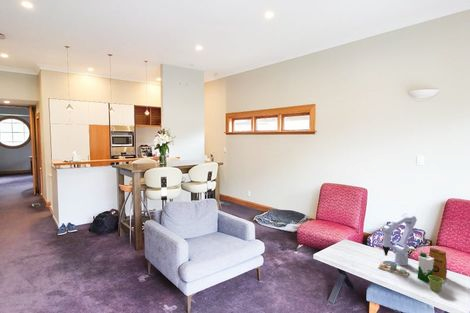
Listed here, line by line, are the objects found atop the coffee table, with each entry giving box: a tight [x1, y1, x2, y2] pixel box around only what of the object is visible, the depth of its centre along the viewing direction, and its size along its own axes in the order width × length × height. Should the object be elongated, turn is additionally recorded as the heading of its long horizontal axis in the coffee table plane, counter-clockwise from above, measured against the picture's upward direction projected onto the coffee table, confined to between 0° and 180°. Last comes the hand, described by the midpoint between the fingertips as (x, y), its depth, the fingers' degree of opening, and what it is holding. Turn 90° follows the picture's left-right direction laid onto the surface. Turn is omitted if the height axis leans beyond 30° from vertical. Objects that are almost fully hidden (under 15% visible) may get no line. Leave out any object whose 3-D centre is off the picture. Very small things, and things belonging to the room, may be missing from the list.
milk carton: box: [417, 252, 434, 283], centre depth 213 cm, size 9×9×20 cm
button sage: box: [399, 268, 407, 274], centre depth 222 cm, size 4×4×3 cm
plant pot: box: [428, 275, 445, 293], centre depth 199 cm, size 9×9×9 cm
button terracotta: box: [380, 262, 388, 268], centre depth 231 cm, size 4×4×3 cm
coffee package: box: [428, 247, 448, 281], centre depth 219 cm, size 10×12×22 cm
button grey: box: [390, 264, 397, 271], centre depth 227 cm, size 4×4×3 cm
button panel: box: [377, 263, 410, 278], centre depth 227 cm, size 21×8×2 cm, turn 50°
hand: (386, 255), depth 235 cm, fingers closed
